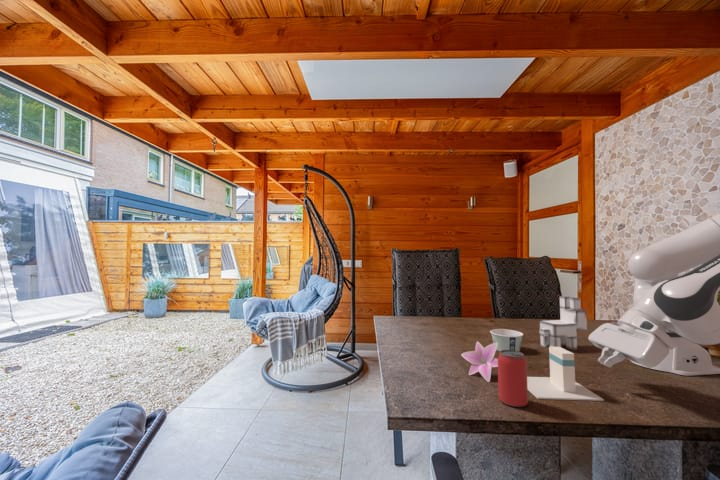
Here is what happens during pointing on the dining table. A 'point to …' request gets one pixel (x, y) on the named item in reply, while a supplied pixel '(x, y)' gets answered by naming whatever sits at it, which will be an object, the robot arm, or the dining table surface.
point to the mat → (558, 390)
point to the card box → (562, 369)
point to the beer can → (512, 378)
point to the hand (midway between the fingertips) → (603, 364)
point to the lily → (482, 359)
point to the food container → (507, 339)
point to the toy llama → (564, 325)
